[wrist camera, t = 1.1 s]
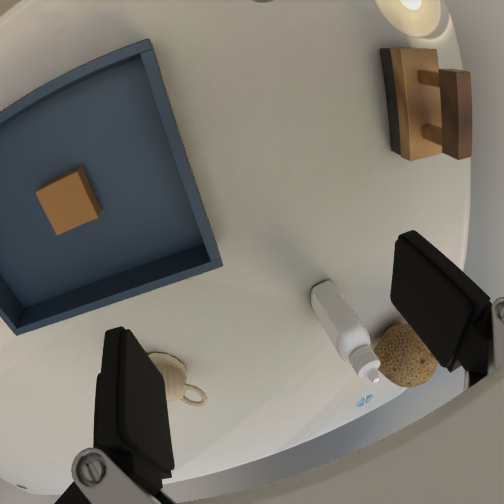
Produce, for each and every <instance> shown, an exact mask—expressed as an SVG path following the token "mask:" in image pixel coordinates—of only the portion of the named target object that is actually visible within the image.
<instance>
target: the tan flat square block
mask: <svg viewBox="0 0 504 504" xmlns="http://www.w3.org/2000/svg"><path fill="white" fill-rule="evenodd" d="M35 193H36V195H37V197H38V199H39V201H40V203H41V205H42V207H43V209H44V211H45V213H46V215H47V217H48V219H49V221H50V223H51V225H52V227H53V229H54V231H55V232H56V234H57V235H60V234H62V233H64V232H66V231H69V230H71V229H73V228H75V227H78V226H80V225H82V224H85V223H87V222H89V221H92V220H94V219H97V218H98V217H99V215H100V212H101V208H100V206H99V203H98V201H97V199H96V197H95V195H94V192H93V190H92V188H91V186H90V183H89V181H88V179H87V177H86V174H85V172H84V169H83V167H82V166H80V167H78V168H76V169H74V170H72V171H70V172H67V173H65V174H63V175H61V176H59V177H57V178H55V179H53V180H51V181H49V182H47V183H45V184H44V185H42V186H41V187H40V188H39V189H38V190H37V191H36V192H35Z"/></svg>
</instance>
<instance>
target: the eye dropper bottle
mask: <svg viewBox="0 0 504 504" xmlns="http://www.w3.org/2000/svg"><path fill="white" fill-rule="evenodd" d="M311 305H312V308H313V310H314V312H315V314H316V316H317V317H318V319H319V321H320V323H321V324H322V326H323V328H324V329H325V331H326V333H327V335H328V336H329V338H330V340H331V342H332V343H333V345H334V347H335V348H336V350H337V352H338V354H339V355H340V357H341V358H342V359H343V360H344V361H346V362H348V363H351V365H352V367H353V368H354V370H355V372H356V373H357V375H358V376H359V377H368V378H369V379H370V380H371V381H372V382H373V383H375V382H377V381H378V380H379V379H380V378H379V375H378V373H377V369H378V368H379V366H380V360H379V359H378V357H377V356H376V354H375V353H374V351H373V350H372V348H371V347H370V337H369V334H368V331H367V330H366V328H365V326H364V325H363V324H362V322H361V321H360V319H359V318H358V316H357V315H356V314H355V312H354V311H353V309H352V308H351V306H350V305H349V304H348V302H347V301H346V299H345V298H344V297H343V295H342V294H341V292H340V291H339V290H338V288H337V287H336V286H335V284H334V283H333V282H331V281H329V280H328V281H325V282H323V283H321V284H319V285H317V286H315V287H313V289H312V291H311Z"/></svg>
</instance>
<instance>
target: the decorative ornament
mask: <svg viewBox="0 0 504 504" xmlns="http://www.w3.org/2000/svg"><path fill="white" fill-rule="evenodd" d="M148 356H149V358H150V359H151V361H152V362H153V363H154V365H155V366H156V367H157V369H158V370H159V371H160V373H161V374H162V376H163V378H164V382H165V390H166V400H167V401H176V400H179V399H181V400H182V401H183V402H185V403H186V404H189V405H192V406H202V405H204V404H205V403H206V402H207V396H206V394H205V393H204V392H203V391H202V390H201V389H199V388H198V387H196V386H193V385H189V384H186V380H187V378H186V375H185V374H186V368H185V367H184V365H183V364H182V363H181V362H179V361H178V360H177V359H176V358H174V357H172V356H170V355H169V354H166V353H158V352H154V353H150V354H148ZM186 389H189V390H193V391H195V392H197V393H199V394H200V395H201V396H202V398H203V400H202V401H201V402H195V401H191V400H189V399H187V398H186V397H185V396H184V394H185V390H186Z"/></svg>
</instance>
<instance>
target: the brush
mask: <svg viewBox="0 0 504 504" xmlns="http://www.w3.org/2000/svg"><path fill="white" fill-rule="evenodd" d="M380 53H381V59H382V66H383V73H384V80H385V87H386V95H387V104H388V114H389V125H390V137H391V151H393V152H395V153H397V154H399V155H401V157H403V158H405V159H407V160H409V161H413V160H417V159H421V158H424V157H428V156H432V155H436V154H440V153H445V154H447V155H449V156H451V157H453V158H455V159H457V160H460V159H464V158H468V157H471V154H472V153H471V152H472V96H471V79H470V72H467V71H462V70H456V69H439V66H438V58H437V50H436V49H427V48H381V49H380Z"/></svg>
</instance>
